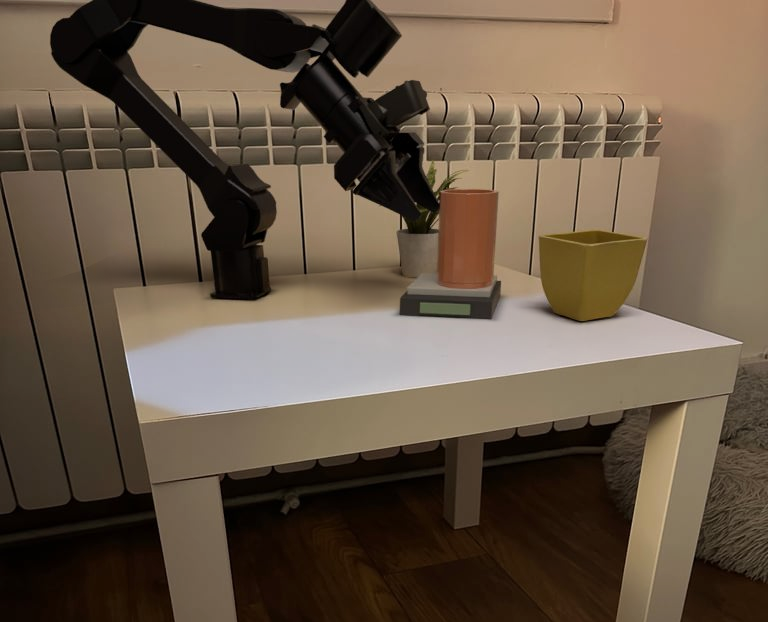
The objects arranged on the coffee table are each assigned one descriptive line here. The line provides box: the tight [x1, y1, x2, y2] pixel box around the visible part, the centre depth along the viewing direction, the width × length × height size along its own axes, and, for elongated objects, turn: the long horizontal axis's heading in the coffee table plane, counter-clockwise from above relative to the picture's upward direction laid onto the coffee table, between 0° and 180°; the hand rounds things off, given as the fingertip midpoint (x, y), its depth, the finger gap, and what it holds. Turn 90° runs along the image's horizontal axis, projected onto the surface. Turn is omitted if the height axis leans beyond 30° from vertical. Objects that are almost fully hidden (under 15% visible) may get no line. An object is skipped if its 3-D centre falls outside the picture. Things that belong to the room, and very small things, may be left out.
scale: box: [399, 273, 502, 320], centre depth 91 cm, size 11×13×3 cm
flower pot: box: [538, 229, 648, 322], centre depth 84 cm, size 9×9×9 cm
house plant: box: [379, 159, 470, 279], centre depth 106 cm, size 14×14×16 cm
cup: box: [437, 188, 500, 289], centre depth 88 cm, size 7×7×10 cm
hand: (428, 214), depth 88 cm, fingers open, 9 cm apart
